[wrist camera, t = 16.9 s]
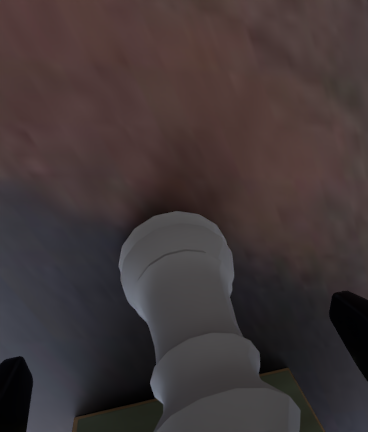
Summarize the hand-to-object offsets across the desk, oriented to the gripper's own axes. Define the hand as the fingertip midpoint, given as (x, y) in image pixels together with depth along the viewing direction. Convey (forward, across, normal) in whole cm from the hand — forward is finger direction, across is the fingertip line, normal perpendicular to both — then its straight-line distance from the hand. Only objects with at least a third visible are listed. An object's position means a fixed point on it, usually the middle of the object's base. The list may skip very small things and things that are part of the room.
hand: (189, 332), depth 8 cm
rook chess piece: (+4, 0, 0) cm, 4 cm away
